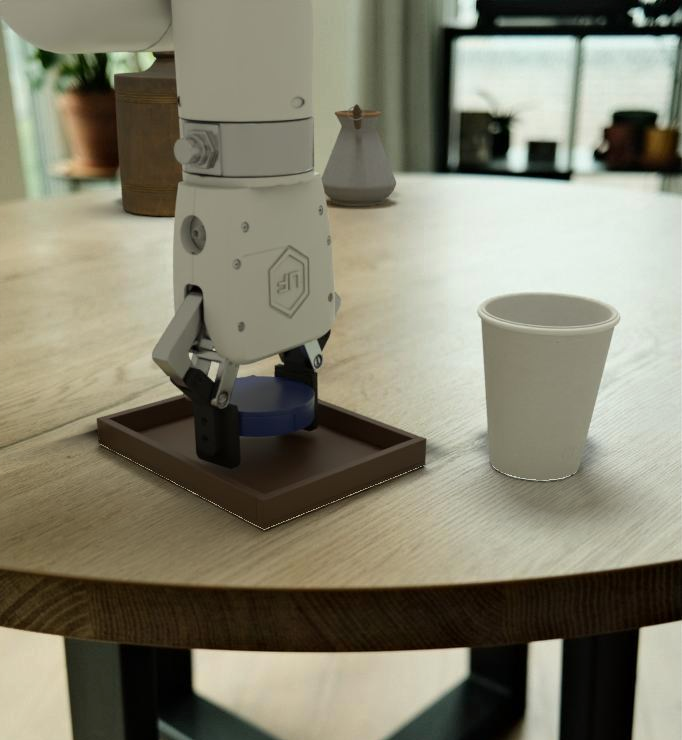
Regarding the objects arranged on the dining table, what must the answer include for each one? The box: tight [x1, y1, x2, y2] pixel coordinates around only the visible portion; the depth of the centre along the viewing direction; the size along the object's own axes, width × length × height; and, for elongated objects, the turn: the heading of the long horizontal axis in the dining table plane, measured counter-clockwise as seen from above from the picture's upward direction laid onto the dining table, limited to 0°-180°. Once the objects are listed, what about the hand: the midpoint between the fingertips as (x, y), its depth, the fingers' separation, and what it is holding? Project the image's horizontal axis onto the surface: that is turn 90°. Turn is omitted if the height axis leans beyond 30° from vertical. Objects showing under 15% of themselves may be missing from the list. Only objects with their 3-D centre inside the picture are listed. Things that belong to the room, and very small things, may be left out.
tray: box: [96, 374, 427, 529], centre depth 65 cm, size 17×13×2 cm
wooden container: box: [113, 51, 183, 217], centre depth 145 cm, size 15×15×22 cm
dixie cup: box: [476, 291, 621, 480], centre depth 63 cm, size 8×8×10 cm
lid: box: [229, 375, 314, 437], centre depth 64 cm, size 7×7×2 cm
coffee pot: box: [321, 103, 397, 207], centre depth 147 cm, size 21×12×15 cm, turn 178°
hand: (259, 441), depth 65 cm, fingers closed on lid, 7 cm apart
